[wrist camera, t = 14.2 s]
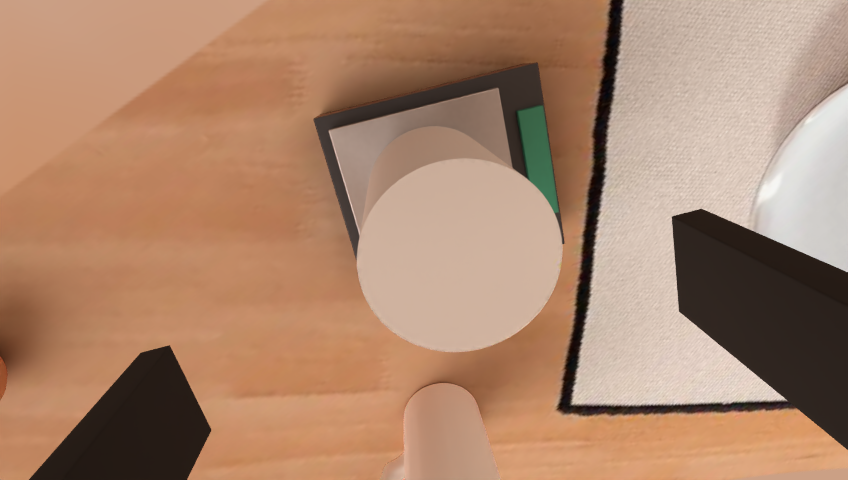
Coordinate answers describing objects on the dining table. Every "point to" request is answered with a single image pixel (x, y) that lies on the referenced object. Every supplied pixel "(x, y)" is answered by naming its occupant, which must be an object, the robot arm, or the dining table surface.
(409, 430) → the mug
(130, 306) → the dining table surface
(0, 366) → the egg
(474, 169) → the white cylinder
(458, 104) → the scale pan
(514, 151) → the scale
